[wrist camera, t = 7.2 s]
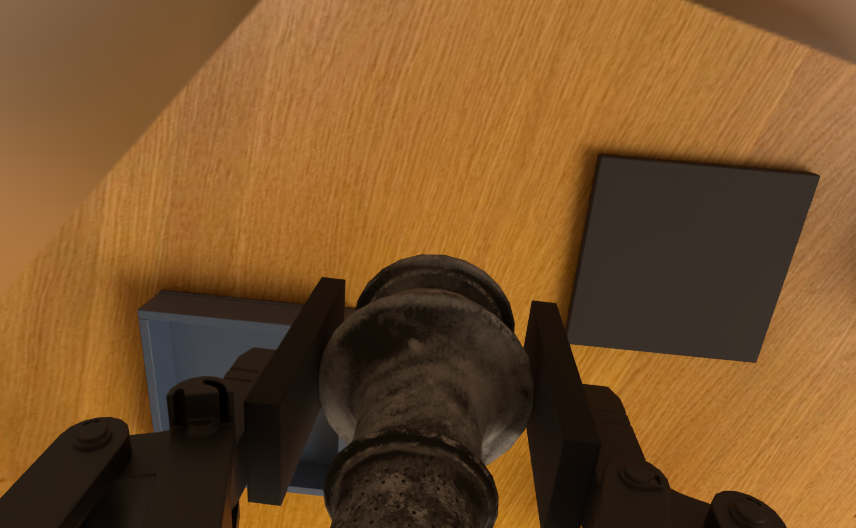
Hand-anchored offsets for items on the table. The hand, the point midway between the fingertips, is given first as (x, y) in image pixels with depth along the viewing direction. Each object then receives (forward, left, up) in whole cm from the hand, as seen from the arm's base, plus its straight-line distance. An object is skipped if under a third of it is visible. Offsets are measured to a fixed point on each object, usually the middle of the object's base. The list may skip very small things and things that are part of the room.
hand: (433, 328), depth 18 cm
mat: (+3, +14, -17) cm, 22 cm away
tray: (+15, -12, -17) cm, 25 cm away
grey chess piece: (0, 0, -1) cm, 1 cm away
